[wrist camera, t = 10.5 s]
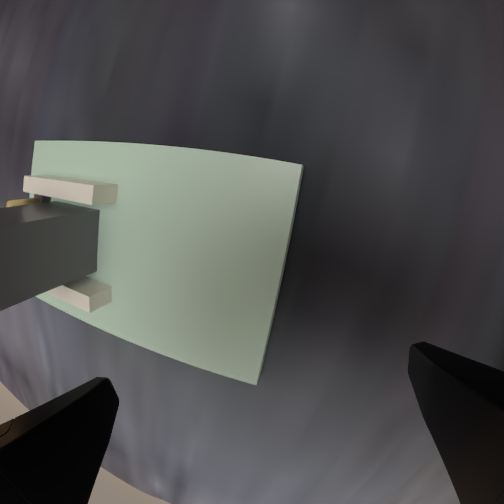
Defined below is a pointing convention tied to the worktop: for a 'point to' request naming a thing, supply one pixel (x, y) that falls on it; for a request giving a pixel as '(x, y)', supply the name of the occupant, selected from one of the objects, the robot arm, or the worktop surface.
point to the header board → (176, 246)
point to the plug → (45, 248)
